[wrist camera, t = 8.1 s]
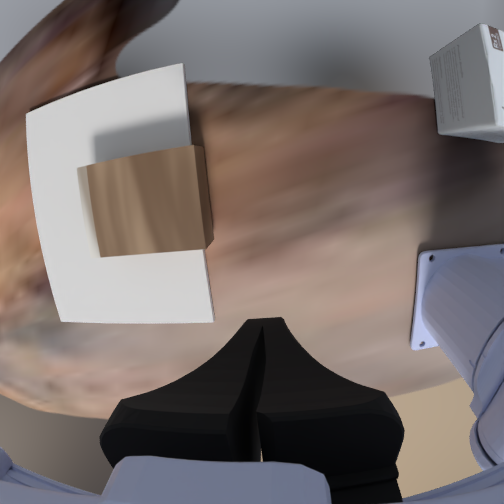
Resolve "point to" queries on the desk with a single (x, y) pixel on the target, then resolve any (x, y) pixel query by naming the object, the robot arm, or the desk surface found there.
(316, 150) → the desk surface
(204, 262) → the mat
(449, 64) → the skincare box
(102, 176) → the brown wooden block
